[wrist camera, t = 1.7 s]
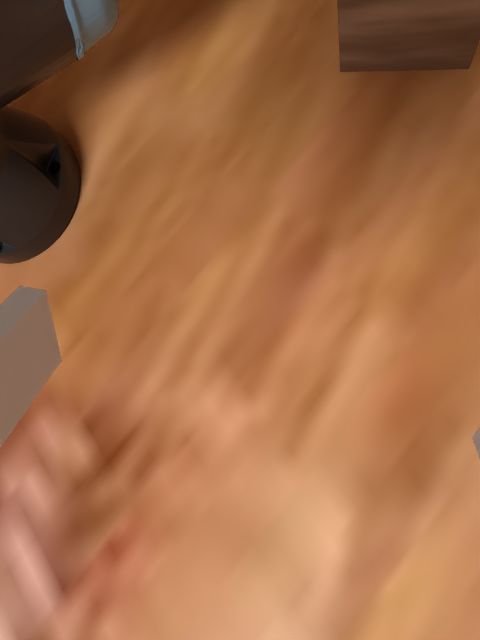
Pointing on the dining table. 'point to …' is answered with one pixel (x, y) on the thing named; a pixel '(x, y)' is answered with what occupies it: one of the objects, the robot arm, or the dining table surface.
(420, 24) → the walnut stand
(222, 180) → the dining table surface
